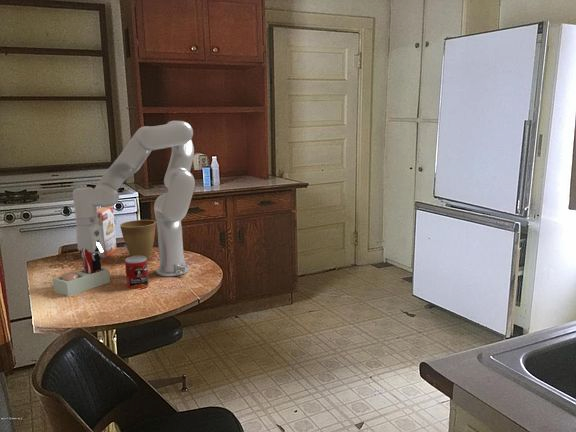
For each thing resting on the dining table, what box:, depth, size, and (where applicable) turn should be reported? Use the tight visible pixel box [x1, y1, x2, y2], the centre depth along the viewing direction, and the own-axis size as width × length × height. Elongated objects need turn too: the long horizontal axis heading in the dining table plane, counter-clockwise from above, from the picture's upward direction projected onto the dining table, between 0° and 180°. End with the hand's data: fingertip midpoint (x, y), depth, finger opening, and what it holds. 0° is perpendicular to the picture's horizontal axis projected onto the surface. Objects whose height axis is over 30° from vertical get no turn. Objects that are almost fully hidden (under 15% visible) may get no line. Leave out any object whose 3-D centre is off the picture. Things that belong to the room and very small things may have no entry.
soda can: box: [82, 248, 100, 274], centre depth 185 cm, size 5×5×12 cm
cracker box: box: [97, 206, 117, 259], centre depth 225 cm, size 14×6×21 cm, turn 179°
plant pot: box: [119, 219, 157, 260], centre depth 218 cm, size 15×15×16 cm
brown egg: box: [61, 271, 78, 281], centre depth 179 cm, size 5×5×6 cm
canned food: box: [124, 255, 150, 291], centre depth 183 cm, size 8×8×11 cm
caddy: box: [52, 267, 111, 297], centre depth 183 cm, size 8×17×6 cm, turn 146°
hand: (92, 268), depth 186 cm, fingers closed on soda can, 4 cm apart
